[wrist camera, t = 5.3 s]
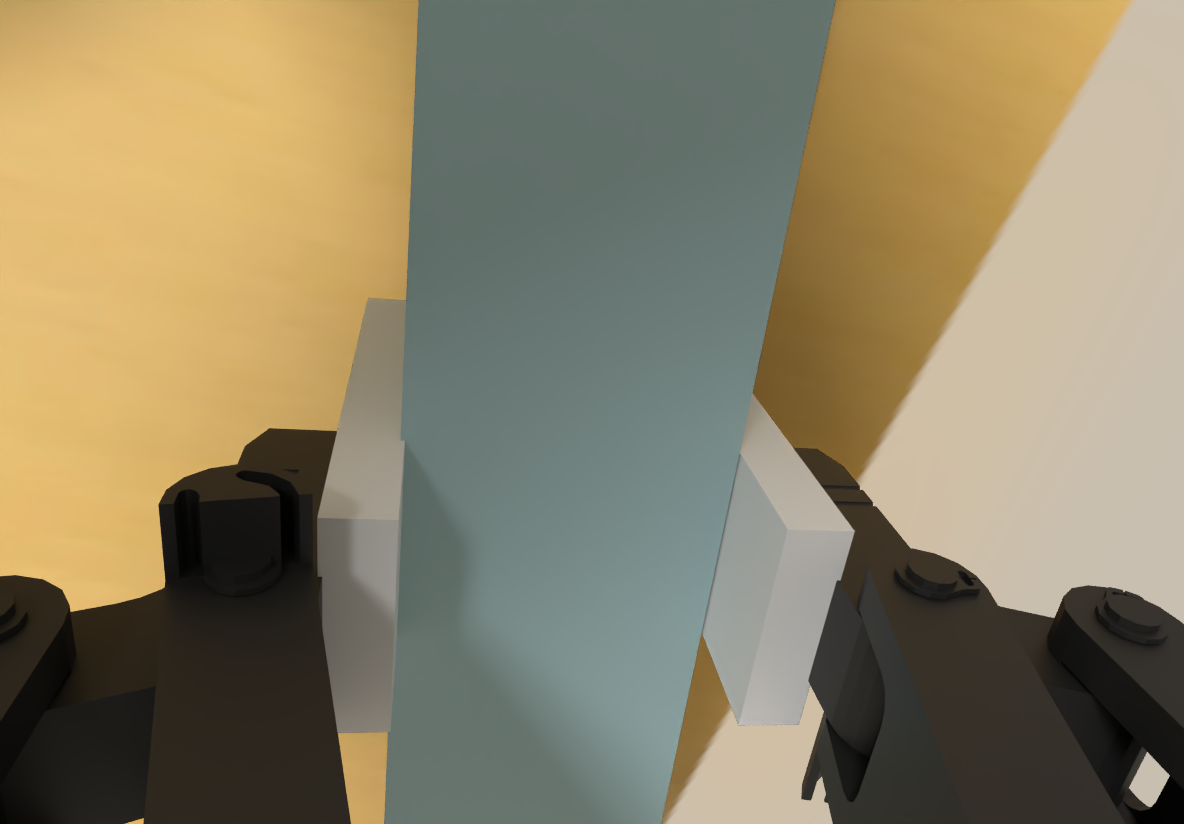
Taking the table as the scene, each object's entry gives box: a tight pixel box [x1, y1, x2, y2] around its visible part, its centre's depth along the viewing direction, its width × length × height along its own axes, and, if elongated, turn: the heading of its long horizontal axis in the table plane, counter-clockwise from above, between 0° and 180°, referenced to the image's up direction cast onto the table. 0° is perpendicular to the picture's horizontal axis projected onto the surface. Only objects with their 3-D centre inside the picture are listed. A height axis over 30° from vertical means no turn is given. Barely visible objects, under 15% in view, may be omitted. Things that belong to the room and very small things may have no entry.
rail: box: [384, 0, 836, 824], centre depth 14 cm, size 22×4×6 cm, turn 173°
